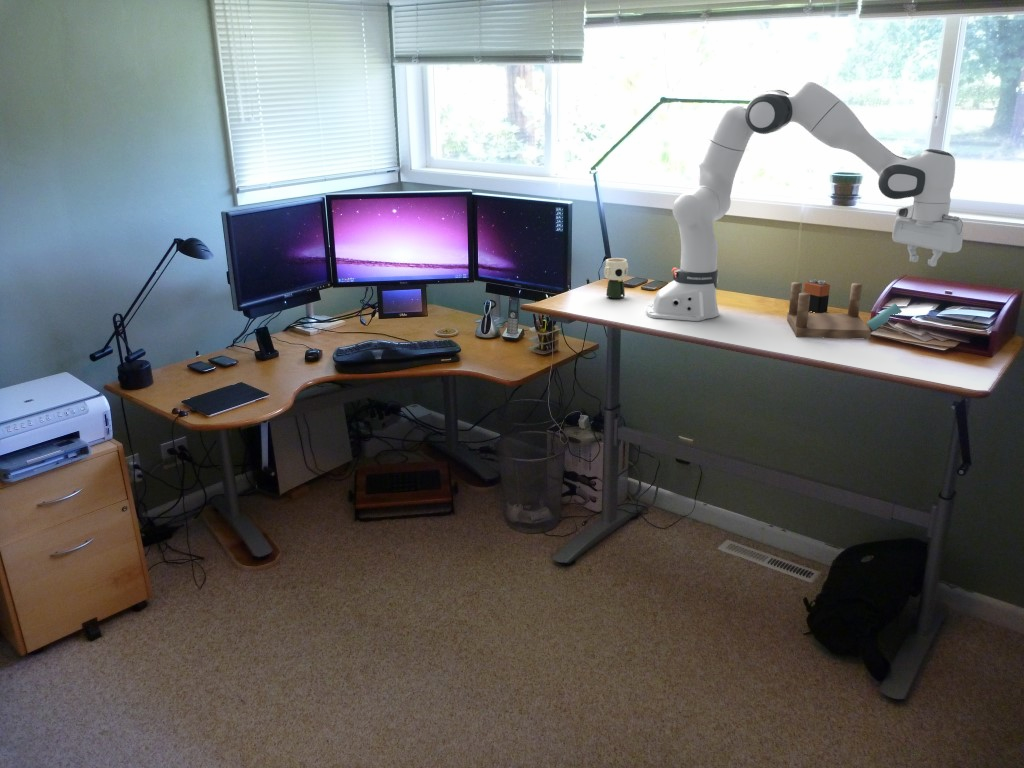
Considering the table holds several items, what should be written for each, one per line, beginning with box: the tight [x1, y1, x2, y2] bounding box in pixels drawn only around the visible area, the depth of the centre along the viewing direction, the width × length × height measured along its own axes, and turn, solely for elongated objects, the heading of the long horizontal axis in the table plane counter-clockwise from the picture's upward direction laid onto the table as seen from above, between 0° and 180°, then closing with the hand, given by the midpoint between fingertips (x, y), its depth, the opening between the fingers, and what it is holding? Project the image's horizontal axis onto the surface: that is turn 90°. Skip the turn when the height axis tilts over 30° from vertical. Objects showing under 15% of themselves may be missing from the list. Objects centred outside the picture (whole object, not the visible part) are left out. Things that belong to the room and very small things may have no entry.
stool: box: [786, 281, 872, 340], centre depth 243 cm, size 20×18×12 cm
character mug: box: [603, 257, 629, 299], centre depth 283 cm, size 11×7×13 cm, turn 128°
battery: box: [802, 278, 831, 313], centre depth 263 cm, size 4×7×10 cm, turn 32°
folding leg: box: [865, 303, 903, 332], centre depth 235 cm, size 3×3×9 cm
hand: (922, 263), depth 228 cm, fingers open, 5 cm apart
